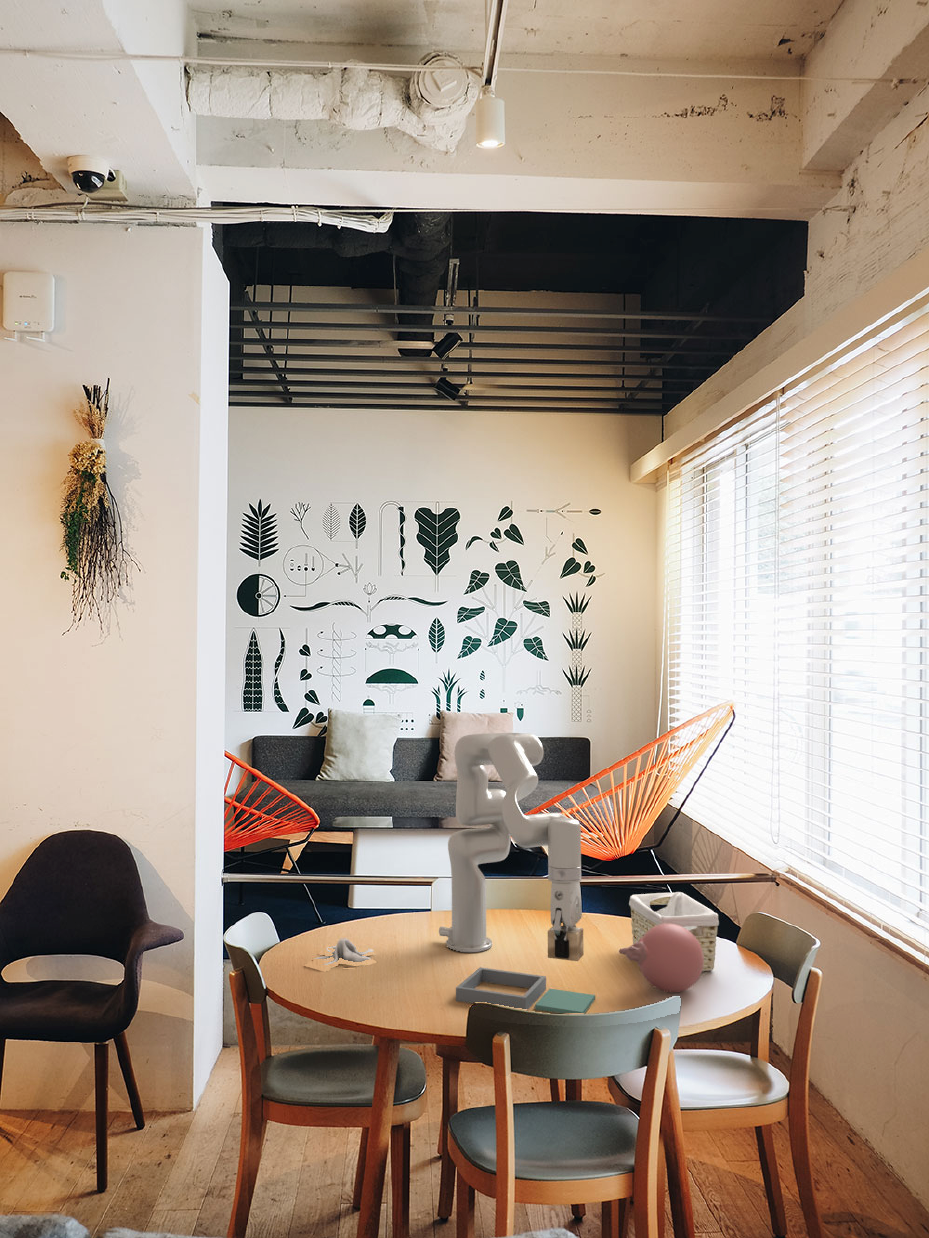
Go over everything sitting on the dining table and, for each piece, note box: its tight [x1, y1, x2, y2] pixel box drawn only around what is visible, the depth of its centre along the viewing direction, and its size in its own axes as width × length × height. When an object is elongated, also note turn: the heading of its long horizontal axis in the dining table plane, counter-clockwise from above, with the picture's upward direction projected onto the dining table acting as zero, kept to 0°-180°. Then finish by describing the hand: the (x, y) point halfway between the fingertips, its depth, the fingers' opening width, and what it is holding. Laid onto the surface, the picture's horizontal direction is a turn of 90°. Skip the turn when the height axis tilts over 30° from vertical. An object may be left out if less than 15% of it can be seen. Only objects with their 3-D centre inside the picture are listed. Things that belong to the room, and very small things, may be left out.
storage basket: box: [628, 891, 720, 973], centre depth 240 cm, size 24×16×15 cm
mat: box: [534, 988, 596, 1014], centre depth 209 cm, size 11×11×1 cm
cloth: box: [314, 937, 374, 965], centre depth 240 cm, size 22×19×6 cm
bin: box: [455, 967, 547, 1010], centre depth 215 cm, size 17×15×3 cm
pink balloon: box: [618, 924, 704, 993], centre depth 218 cm, size 15×20×15 cm
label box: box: [547, 925, 585, 962], centre depth 209 cm, size 5×7×6 cm
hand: (565, 952), depth 209 cm, fingers closed on label box, 5 cm apart
